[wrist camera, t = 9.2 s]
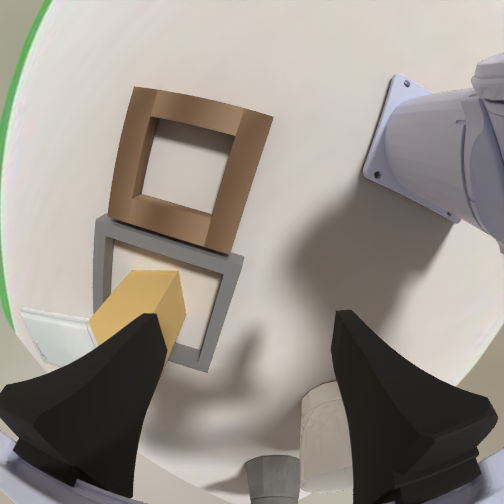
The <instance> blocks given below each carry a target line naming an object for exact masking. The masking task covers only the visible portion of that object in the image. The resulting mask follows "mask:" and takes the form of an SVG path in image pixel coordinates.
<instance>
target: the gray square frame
mask: <svg viewBox="0 0 504 504" xmlns="http://www.w3.org/2000/svg"><path fill="white" fill-rule="evenodd" d="M114 239H116V240H119V241H122V242H125V243H128V244H131V245H134V246H137V247H140V248H143V249H146V250H149V251H152V252H155V253H158V254H161V255H164V256H167V257H170V258H173V259H176V260H180V261H183V262H186V263H189V264H192V265H195V266H199V267H202V268H205V269H208V270H211V271H215V272H218V273H221V274H224V275H223V279H222V282H221V285H220V289H219V292H218V296H217V299H216V302H215V306H214V309H213V313H212V316H211V320H210V323H209V327H208V330H207V334H206V337H205V341H204V344H203V348H202V351H200V350H197V349H194V348H190V347H187V346H184V345H181V344H178V343H174V345H173V347H172V350H171V352H170V355H169V357H168V361H171V362H174V363H177V364H180V365H183V366H186V367H189V368H193V369H196V370H199V371H203V372H206V373H207V372H208V369H209V366H210V363H211V360H212V357H213V354H214V351H215V348H216V345H217V342H218V339H219V336H220V332H221V329H222V326H223V323H224V320H225V317H226V314H227V311H228V308H229V305H230V302H231V299H232V296H233V293H234V290H235V287H236V284H237V281H238V278H239V275H240V272H241V269H242V265H243V260H244V256H241V255H237V254H234V253H231V252H230V255H229V254H226V253H223V252H219V251H216V250H213V249H210V248H206V247H203V246H200V245H197V244H193V243H190V242H187V241H184V240H180V239H177V238H174V237H171V236H168V235H164V234H161V233H158V232H155V231H152V230H148V229H145V228H142V227H139V226H136V225H133V224H129V223H126V222H123V221H120V220H117V219H114V218H111V217H108V214H104V215H103V216H101V217H99V218H97V219H96V222H95V235H94V254H93V312H94V314H95V312H96V311H97V310H98V309H99V308H100V307H101V305H102V304H103V303H104V302H105V301H106V299H107V298H108V297H109V296H110V295H111V274H112V258H113V246H114Z"/></svg>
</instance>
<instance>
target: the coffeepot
mask: <svg viewBox="0 0 504 504" xmlns="http://www.w3.org/2000/svg"><path fill="white" fill-rule="evenodd" d="M246 467H247V476H248V484H249V492H250V500H251V504H298V498H299V492H300V459H298V458H296V457H292V456H285V455H269V456H262V457H257V458H254V459H252V460H250V461H249V462H247V463H246Z"/></svg>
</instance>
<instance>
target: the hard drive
mask: <svg viewBox="0 0 504 504" xmlns="http://www.w3.org/2000/svg"><path fill="white" fill-rule="evenodd" d="M20 315H21V318H22V320H23V322H24V324H25V327H26V329H27V331H28V333H29V335H30V337H31V339H32V341H33V343H34V345H35V347H36V349H37V350H38V352H39V354H40V356H41V358H42V359H43V361H44V362H45V363H48V364H51V365H54V366H58V367H63V366H66V365H68V364H70V363H72V362H73V361H75V360H77V359H79V358H81V357H82V356H84V355H86V354H87V353H89V352H90V351H92V350H93V349H95V348H96V347H98V344H97V342H96V339H95V337H94V334H93V332H92V330H91V327H90V325H89V322H88V321H89V320H90V319H89V318H83V317H77V316H70V315H64V314H58V313H53V312H47V311H42V310H37V309H31V308H27V307H23V308H22V309H21V310H20Z"/></svg>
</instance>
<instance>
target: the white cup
mask: <svg viewBox="0 0 504 504" xmlns="http://www.w3.org/2000/svg"><path fill="white" fill-rule="evenodd" d="M300 430H301V432H300V488H301V489H302V490H304V491H307V492H312V493H331V492H339V491H344V490H348V489H352V488H353V467H352V454H351V443H350V435H349V427H348V421H347V416H346V412H345V408H344V405H343V401H342V397H341V394H340V390H339V387H338V383H337V381H334V382H329V383H325V384H321V385H319V386H318V387H316V388H314V389H312V390H310V391H309V392H308V393H307V394H306V395H305V396H304V398H303V399H302V404H301V424H300Z"/></svg>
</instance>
